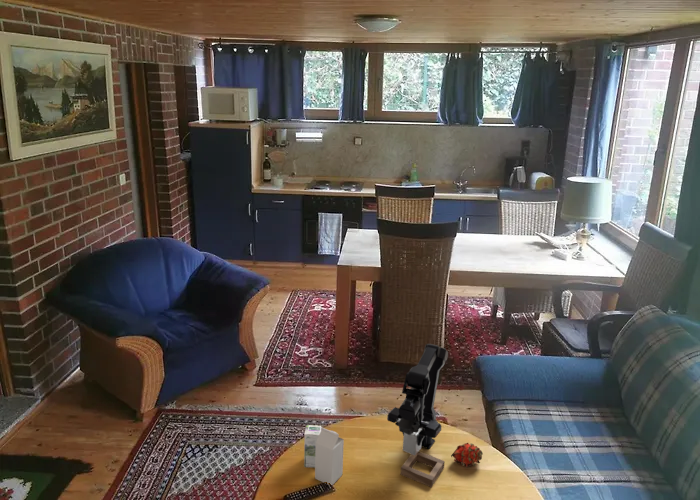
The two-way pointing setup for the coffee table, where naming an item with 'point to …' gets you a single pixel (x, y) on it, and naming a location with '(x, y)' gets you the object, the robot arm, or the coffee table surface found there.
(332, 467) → the milk carton
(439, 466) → the well block
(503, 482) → the coffee table surface
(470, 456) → the dragon fruit
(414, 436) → the rectangular block
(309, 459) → the syrup box
